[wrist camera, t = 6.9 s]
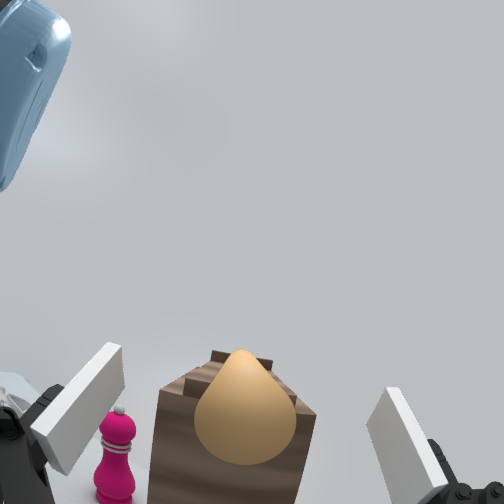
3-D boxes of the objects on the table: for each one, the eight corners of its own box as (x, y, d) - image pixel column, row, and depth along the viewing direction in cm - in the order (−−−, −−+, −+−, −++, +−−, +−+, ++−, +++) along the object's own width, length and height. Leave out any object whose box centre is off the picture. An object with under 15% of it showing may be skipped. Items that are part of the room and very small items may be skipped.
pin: (285, 469, 7) (304, 382, 8) (187, 454, 7) (203, 366, 8) (253, 379, 30) (258, 352, 31) (224, 374, 30) (230, 347, 31)
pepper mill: (139, 498, 33) (148, 407, 39) (126, 516, 26) (132, 417, 32) (104, 485, 33) (109, 394, 39) (87, 499, 27) (89, 400, 33)
